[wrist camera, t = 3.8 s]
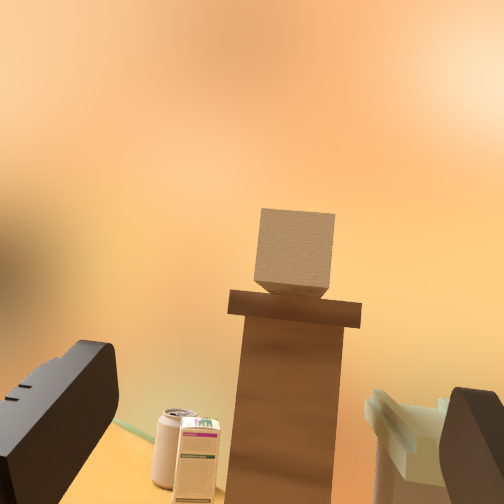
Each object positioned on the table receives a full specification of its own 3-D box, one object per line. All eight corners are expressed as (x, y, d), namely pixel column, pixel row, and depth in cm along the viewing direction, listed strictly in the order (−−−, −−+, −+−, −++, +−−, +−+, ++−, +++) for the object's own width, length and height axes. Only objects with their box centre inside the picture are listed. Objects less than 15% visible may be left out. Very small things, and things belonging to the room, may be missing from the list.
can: (145, 475, 76) (155, 406, 77) (185, 472, 79) (194, 406, 80) (154, 493, 69) (164, 417, 71) (198, 489, 72) (206, 417, 74)
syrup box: (210, 541, 56) (223, 428, 58) (166, 540, 55) (180, 425, 58) (208, 520, 62) (220, 418, 64) (168, 518, 61) (181, 415, 63)
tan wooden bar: (328, 288, 17) (335, 213, 17) (253, 280, 17) (261, 208, 17) (313, 306, 40) (316, 275, 40) (282, 302, 40) (285, 272, 41)
